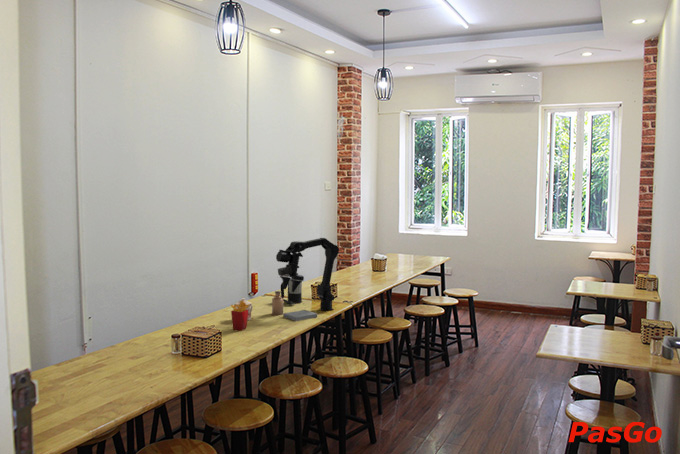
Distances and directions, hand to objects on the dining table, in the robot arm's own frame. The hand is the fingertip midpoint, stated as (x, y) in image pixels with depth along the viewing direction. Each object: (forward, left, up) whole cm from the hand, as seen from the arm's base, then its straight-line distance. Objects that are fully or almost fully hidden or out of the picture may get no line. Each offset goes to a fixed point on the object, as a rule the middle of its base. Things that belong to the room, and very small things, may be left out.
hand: (288, 290), depth 312 cm
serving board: (-3, +7, -14) cm, 16 cm away
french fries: (+36, +10, -15) cm, 40 cm away
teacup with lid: (+24, -8, -15) cm, 29 cm away
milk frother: (-20, -25, -15) cm, 35 cm away
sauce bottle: (+3, -7, -14) cm, 16 cm away
